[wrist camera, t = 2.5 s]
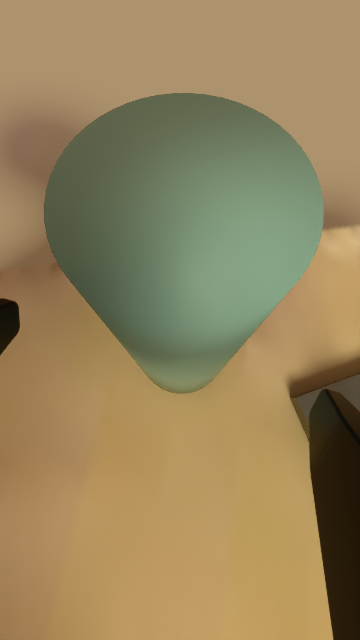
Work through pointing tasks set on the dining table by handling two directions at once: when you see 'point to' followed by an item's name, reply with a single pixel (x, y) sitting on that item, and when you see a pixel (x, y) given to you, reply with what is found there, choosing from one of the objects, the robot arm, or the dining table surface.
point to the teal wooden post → (183, 228)
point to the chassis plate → (352, 388)
